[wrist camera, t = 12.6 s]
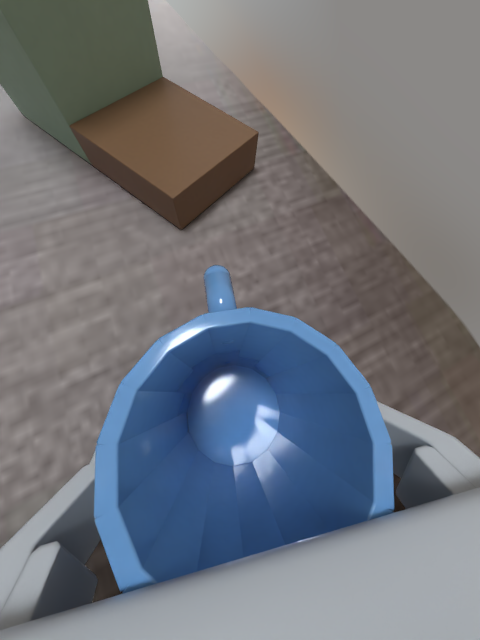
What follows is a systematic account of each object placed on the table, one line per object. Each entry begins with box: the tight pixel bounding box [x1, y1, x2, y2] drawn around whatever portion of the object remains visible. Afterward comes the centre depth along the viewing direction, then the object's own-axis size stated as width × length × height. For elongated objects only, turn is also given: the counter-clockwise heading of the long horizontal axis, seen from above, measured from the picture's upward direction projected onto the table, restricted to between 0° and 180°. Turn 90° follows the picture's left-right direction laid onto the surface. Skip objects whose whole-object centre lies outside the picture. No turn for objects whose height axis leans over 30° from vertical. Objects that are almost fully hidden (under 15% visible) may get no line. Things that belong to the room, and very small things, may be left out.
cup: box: [94, 265, 395, 594], centre depth 9 cm, size 9×6×9 cm
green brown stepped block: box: [0, 0, 258, 230], centre depth 13 cm, size 11×21×15 cm, turn 52°
